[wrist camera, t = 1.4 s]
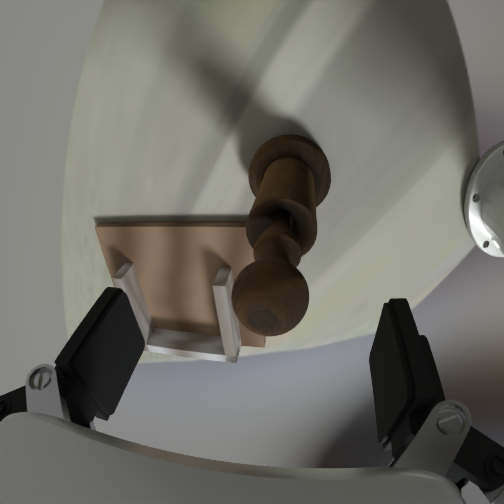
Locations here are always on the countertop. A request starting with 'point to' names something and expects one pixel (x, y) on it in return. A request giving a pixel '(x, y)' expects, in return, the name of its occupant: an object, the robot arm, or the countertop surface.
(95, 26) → the countertop surface
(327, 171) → the wooden chess pawn
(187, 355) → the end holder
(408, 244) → the countertop surface
